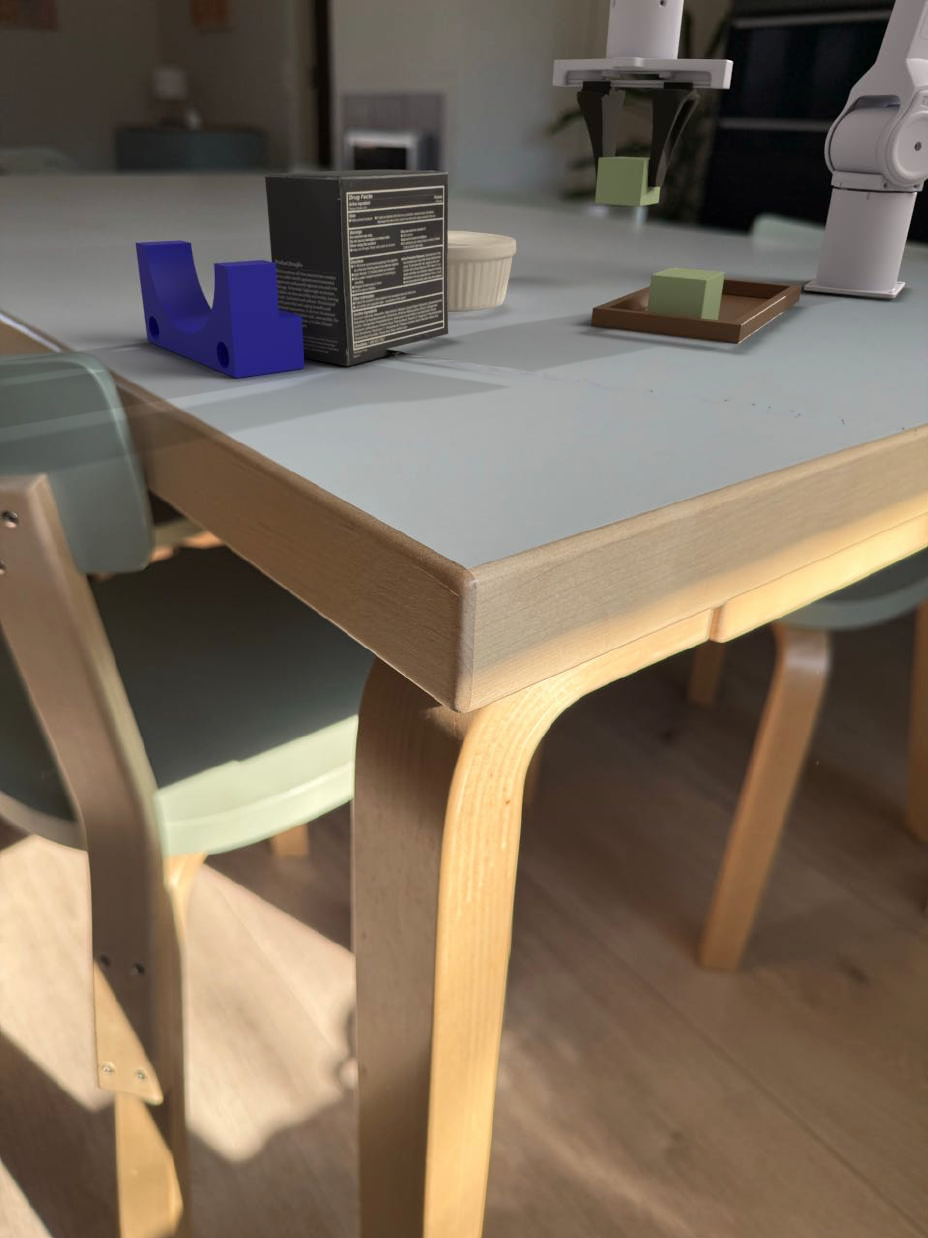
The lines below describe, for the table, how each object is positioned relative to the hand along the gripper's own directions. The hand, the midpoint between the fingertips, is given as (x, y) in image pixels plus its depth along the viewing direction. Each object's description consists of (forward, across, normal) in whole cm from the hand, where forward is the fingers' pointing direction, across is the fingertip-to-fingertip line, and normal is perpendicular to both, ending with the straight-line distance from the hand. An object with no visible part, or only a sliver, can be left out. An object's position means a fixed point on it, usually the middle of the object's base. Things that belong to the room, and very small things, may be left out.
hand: (628, 185), depth 81 cm
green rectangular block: (+8, +10, -14) cm, 19 cm away
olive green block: (+1, 0, 0) cm, 1 cm away
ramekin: (+9, -9, -16) cm, 21 cm away
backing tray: (+9, +10, -8) cm, 16 cm away
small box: (+9, -6, -32) cm, 34 cm away
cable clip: (+9, -12, -39) cm, 42 cm away
